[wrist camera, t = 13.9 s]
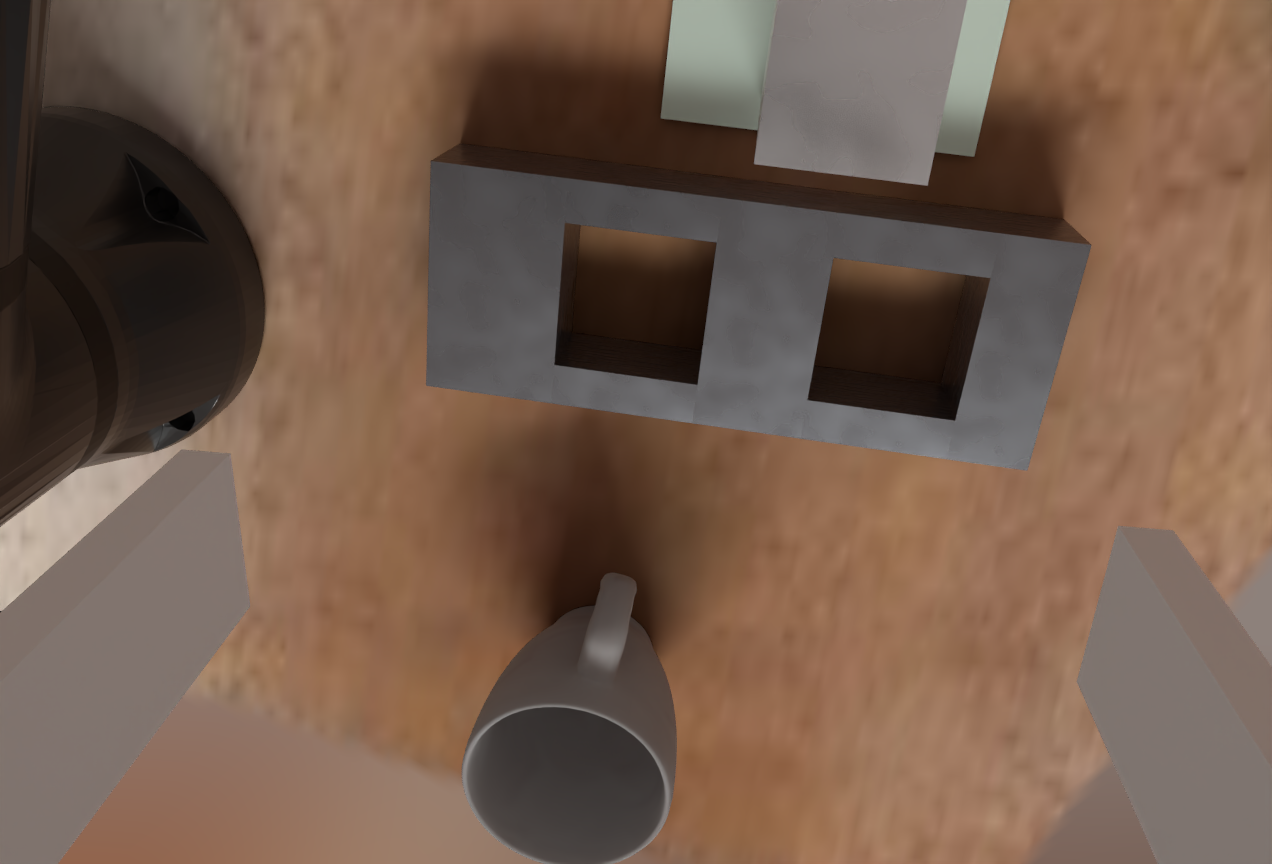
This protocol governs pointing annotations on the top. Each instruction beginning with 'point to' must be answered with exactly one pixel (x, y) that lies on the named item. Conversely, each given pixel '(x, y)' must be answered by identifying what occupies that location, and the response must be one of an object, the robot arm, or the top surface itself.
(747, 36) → the green pad
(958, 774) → the top surface
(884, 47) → the steel peg
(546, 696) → the mug
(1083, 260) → the grey hollow block
